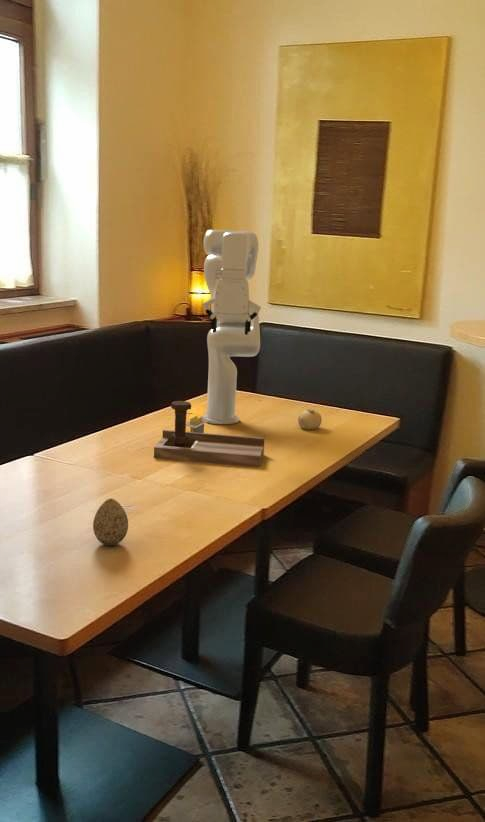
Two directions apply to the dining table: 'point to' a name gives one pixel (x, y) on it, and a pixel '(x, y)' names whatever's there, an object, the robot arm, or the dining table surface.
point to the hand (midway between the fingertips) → (230, 333)
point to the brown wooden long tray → (212, 448)
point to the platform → (197, 424)
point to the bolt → (180, 423)
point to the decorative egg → (110, 523)
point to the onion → (309, 419)
